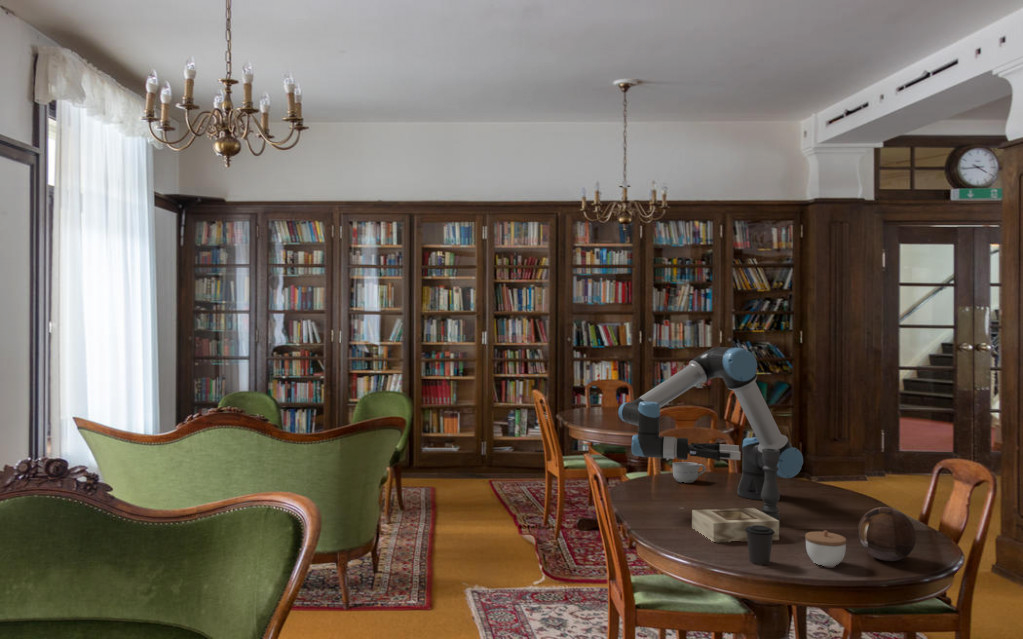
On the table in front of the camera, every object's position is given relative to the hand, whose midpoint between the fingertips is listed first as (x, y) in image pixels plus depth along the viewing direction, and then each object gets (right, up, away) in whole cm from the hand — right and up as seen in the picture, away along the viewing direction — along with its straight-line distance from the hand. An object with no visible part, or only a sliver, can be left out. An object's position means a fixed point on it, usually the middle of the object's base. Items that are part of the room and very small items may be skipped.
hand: (739, 452), depth 252 cm
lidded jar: (+11, -24, -44) cm, 51 cm away
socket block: (-6, -23, -15) cm, 29 cm away
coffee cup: (-8, -24, -43) cm, 50 cm away
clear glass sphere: (+30, -24, -39) cm, 55 cm away
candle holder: (+10, -24, -2) cm, 26 cm away
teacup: (-3, -24, +61) cm, 66 cm away
